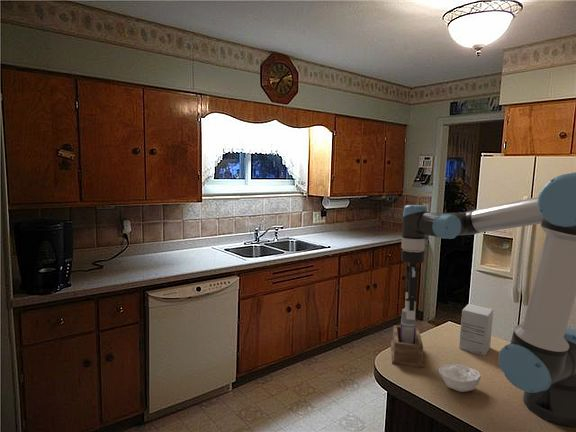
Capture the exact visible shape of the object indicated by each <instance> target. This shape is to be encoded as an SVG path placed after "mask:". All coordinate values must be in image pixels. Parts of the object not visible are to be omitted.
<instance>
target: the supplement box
mask: <svg viewBox="0 0 576 432" xmlns="http://www.w3.org/2000/svg"><path fill="white" fill-rule="evenodd" d="M493 316H494V308H489V307H485V306H484V307H483V306H481V305H480V306H479V305H476V304H471V303H468V304H466V306H465V307H464V308H463V309H462V310H461V319H460V322H461V323H460V330H459V331H460V332H459V343H458V344H459V345H458V346H459V347H458V349H460V350H463V351H467V352H470V353H474V354H477V355H480V356H483V357H485V356H486V355H487V353H488V352H489V350H490V348H491V343H492V342H491V341H492V340H491V339H492V330H493V319H494V317H493Z"/></svg>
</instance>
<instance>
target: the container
mask: <svg viewBox="0 0 576 432" xmlns="http://www.w3.org/2000/svg"><path fill="white" fill-rule="evenodd" d="M406 317H407V308H405V307H404V308H402V309H401V319H400V326H401V332H400V342H402V343H410V344H414V334H415V328H416V319H415V320H410V319H406Z"/></svg>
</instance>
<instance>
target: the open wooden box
mask: <svg viewBox="0 0 576 432" xmlns="http://www.w3.org/2000/svg"><path fill="white" fill-rule="evenodd" d="M392 328H393V329H392V339H390V348H391V350H390V351H391V364H393V365H401V366H407V367H408V366H409V367H415V368H420V369H421V368H422V369H423V368H424V366H425V365H424V360H423V353H424V352H423V351H424V345H423V341H422V337H421V333H420V332H421V331H420V330H419V329H420V328H418V327H415V334H414V344H410V343H402V342H400V332H401V325H396V324H395V325H393V327H392Z"/></svg>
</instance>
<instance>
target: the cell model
mask: <svg viewBox="0 0 576 432" xmlns="http://www.w3.org/2000/svg"><path fill="white" fill-rule="evenodd" d="M438 372H439V375H440V376H441V378H442V380H443V381H444V383H445V385H446V387H448V388H449V389H452V390H455V391H457V392H461V393H463V392H470V391H472V390H474V389H475V388H476V387H477V386H478V385H480V382H481V378H482V377H481V376H482V374H481V373H480V372H479V371H478V370H476V369H474V368H471V367H469V366H466V365H463V364H457V363H448V364H445V365H442V366H440V367H439V368H438Z"/></svg>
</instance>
